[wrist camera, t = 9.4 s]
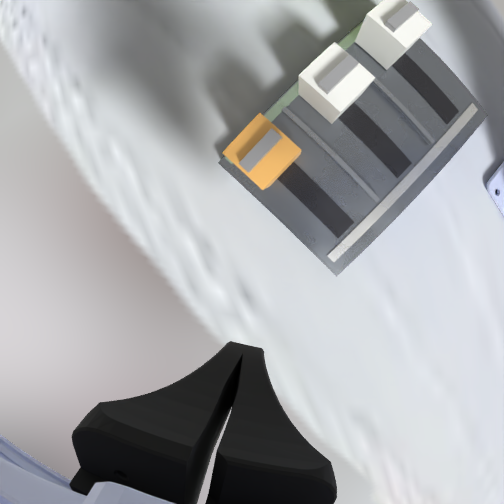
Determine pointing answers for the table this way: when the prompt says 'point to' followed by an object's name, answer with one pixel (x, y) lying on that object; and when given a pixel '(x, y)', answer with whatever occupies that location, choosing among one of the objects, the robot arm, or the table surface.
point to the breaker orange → (262, 151)
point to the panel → (366, 152)
